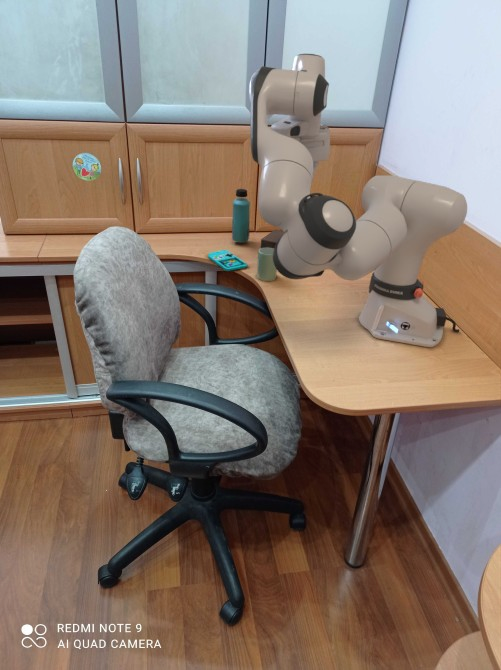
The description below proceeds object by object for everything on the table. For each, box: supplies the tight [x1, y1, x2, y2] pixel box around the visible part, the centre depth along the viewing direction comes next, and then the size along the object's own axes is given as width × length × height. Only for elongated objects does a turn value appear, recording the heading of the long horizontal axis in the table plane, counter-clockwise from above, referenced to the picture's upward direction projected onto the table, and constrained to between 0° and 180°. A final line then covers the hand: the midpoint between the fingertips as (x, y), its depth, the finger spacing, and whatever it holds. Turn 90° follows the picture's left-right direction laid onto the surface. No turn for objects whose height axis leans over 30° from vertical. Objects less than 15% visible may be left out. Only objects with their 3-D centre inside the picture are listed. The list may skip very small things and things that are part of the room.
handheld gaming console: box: [207, 249, 248, 272], centre depth 164 cm, size 8×1×15 cm
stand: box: [260, 229, 285, 249], centre depth 168 cm, size 13×12×7 cm
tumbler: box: [256, 247, 278, 282], centre depth 152 cm, size 6×6×9 cm
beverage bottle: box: [231, 188, 251, 243], centre depth 174 cm, size 6×7×20 cm
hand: (297, 180), depth 131 cm, fingers open, 8 cm apart
